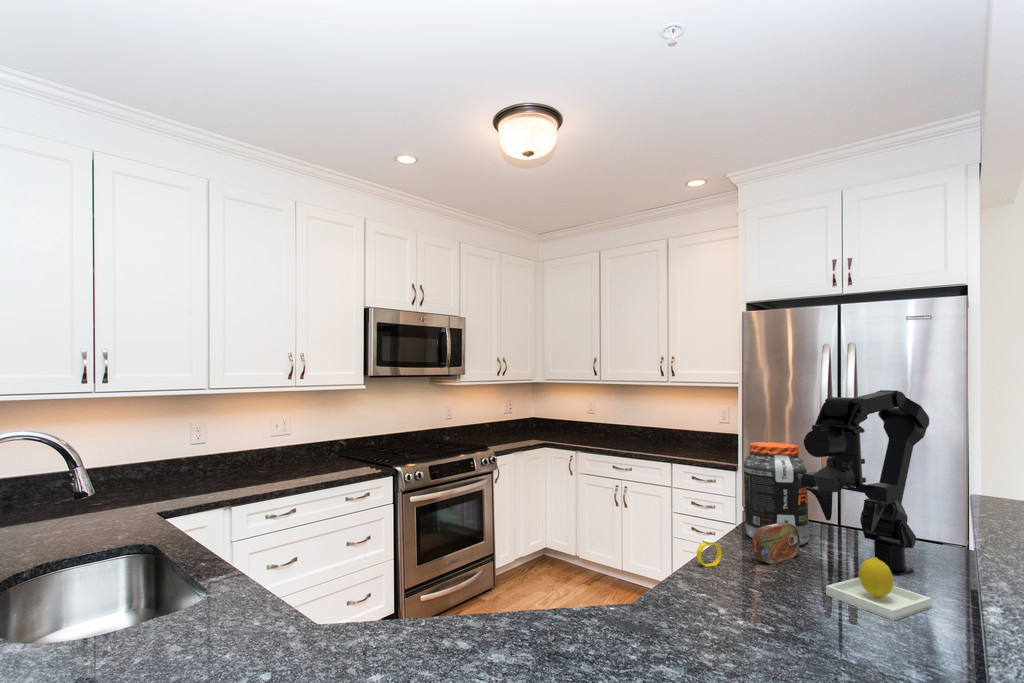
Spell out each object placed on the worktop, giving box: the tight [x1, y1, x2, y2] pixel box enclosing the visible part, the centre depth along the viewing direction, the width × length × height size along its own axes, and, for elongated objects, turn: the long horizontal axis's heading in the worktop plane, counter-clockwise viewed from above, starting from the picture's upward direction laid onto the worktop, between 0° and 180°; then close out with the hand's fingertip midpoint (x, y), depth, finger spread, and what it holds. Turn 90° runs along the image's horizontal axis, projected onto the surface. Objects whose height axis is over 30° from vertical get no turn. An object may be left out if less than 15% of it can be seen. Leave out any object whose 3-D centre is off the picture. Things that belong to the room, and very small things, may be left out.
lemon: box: [858, 556, 894, 599], centre depth 103 cm, size 6×6×8 cm
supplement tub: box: [743, 441, 810, 546], centre depth 144 cm, size 16×16×26 cm
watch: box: [696, 538, 723, 568], centre depth 123 cm, size 6×3×6 cm, turn 105°
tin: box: [751, 523, 801, 565], centre depth 127 cm, size 15×3×8 cm, turn 117°
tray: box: [825, 576, 933, 622], centre depth 103 cm, size 13×13×2 cm
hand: (849, 525), depth 114 cm, fingers open, 9 cm apart
